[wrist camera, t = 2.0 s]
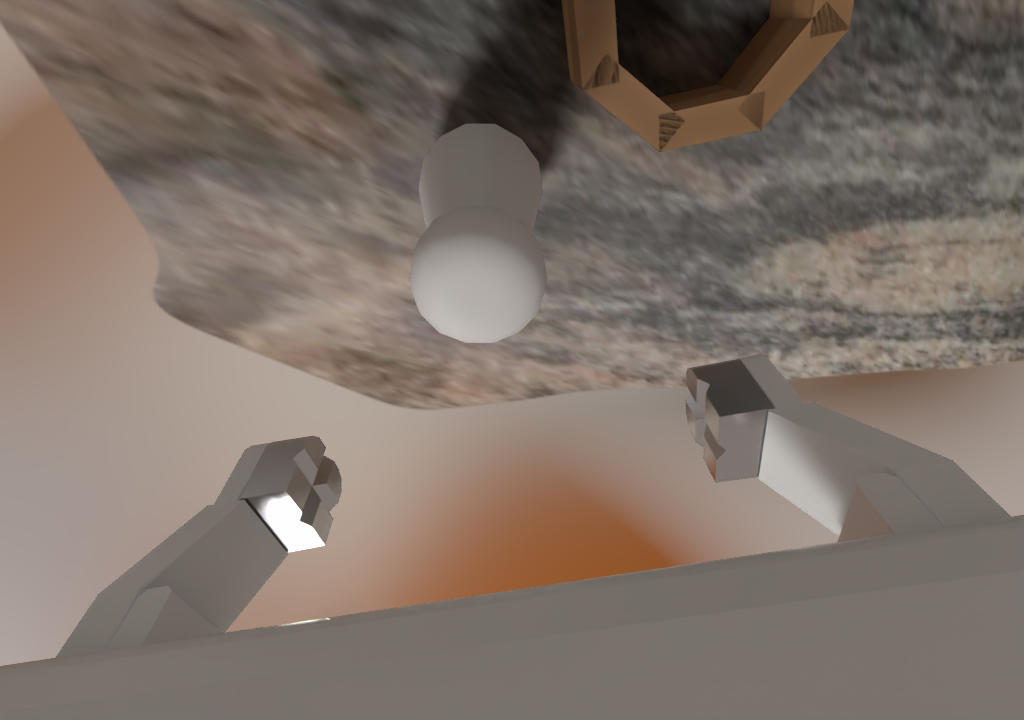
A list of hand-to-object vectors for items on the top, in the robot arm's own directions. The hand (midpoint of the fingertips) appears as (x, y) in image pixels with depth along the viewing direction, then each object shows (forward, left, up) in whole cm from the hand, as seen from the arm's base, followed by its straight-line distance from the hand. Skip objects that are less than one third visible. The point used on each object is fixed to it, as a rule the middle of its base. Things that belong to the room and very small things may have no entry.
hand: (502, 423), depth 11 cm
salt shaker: (-1, 0, -18) cm, 18 cm away
